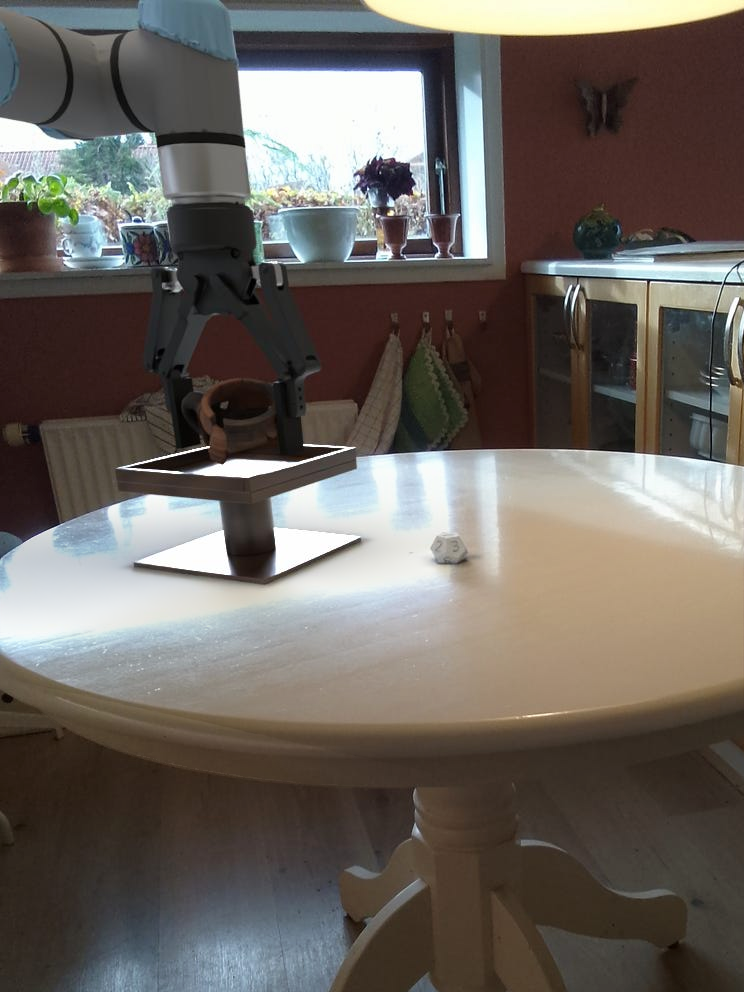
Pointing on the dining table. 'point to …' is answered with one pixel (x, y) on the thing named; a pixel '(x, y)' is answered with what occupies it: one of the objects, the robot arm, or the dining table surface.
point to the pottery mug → (233, 416)
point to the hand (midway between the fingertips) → (239, 449)
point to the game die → (448, 548)
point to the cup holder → (242, 509)
